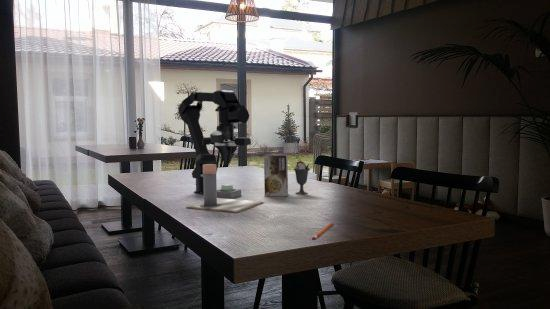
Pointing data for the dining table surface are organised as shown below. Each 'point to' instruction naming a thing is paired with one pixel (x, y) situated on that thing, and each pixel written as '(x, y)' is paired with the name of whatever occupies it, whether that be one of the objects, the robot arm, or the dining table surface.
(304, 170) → the sundae
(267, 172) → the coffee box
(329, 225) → the pencil
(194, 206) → the board
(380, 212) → the dining table surface
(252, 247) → the dining table surface
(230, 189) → the button
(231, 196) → the button collar
